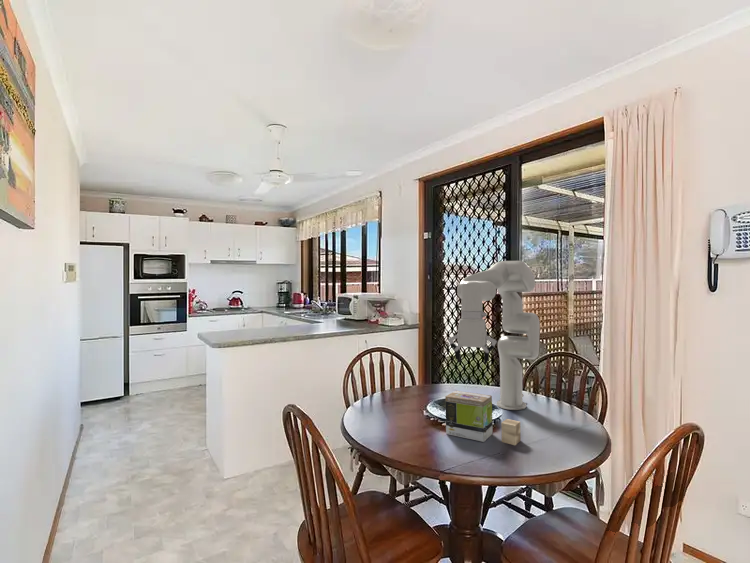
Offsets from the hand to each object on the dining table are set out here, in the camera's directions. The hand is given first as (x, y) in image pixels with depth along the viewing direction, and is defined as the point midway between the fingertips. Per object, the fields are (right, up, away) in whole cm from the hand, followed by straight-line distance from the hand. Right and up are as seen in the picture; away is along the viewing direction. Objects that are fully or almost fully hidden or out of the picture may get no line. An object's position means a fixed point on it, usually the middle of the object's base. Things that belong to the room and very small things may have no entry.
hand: (472, 362), depth 154 cm
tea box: (0, -28, +5) cm, 29 cm away
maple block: (+13, -28, -2) cm, 31 cm away
